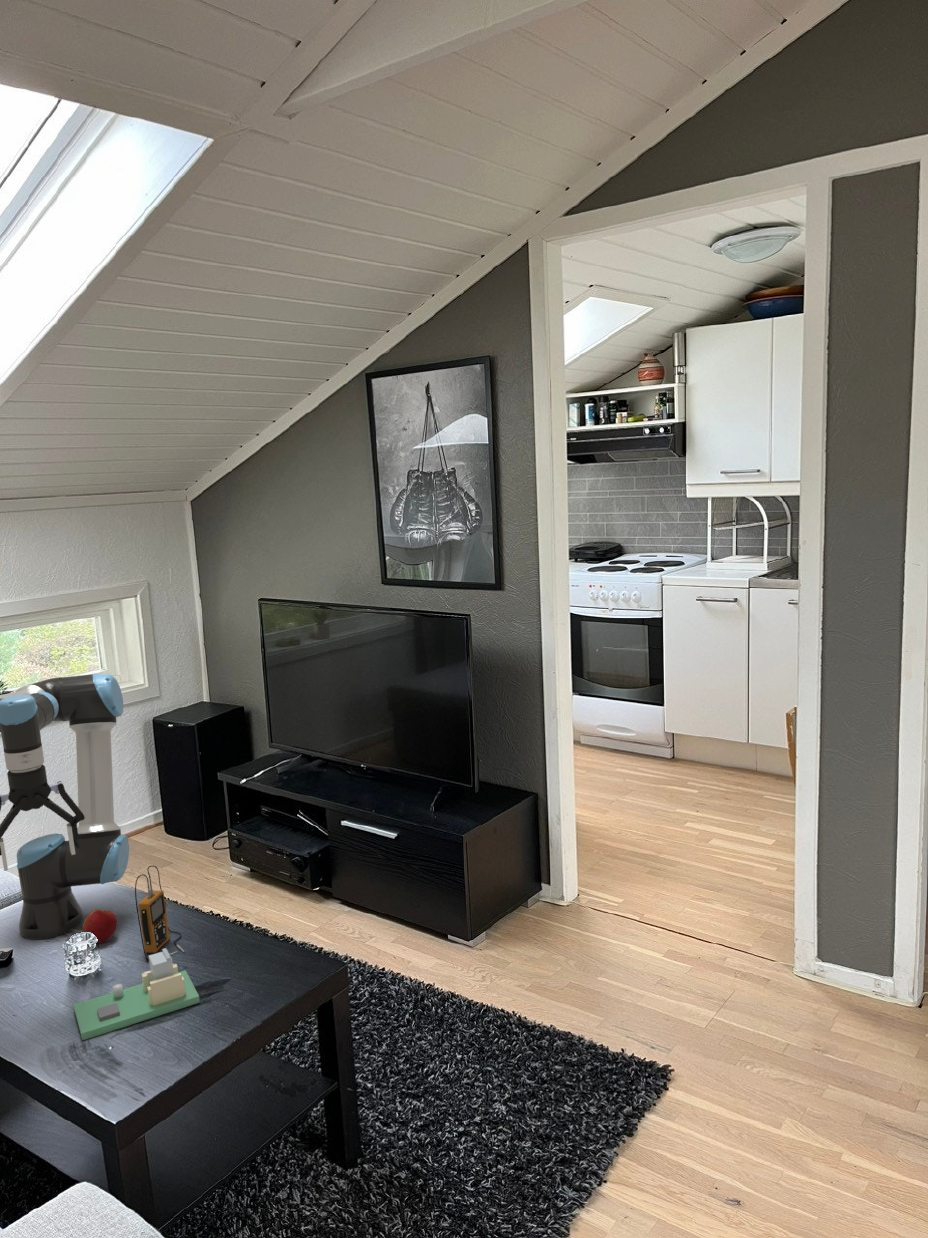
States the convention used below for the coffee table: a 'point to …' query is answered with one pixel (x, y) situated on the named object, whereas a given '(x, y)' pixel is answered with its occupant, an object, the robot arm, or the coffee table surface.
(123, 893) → the coffee table surface
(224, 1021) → the coffee table surface
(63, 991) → the coffee table surface
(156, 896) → the multimeter
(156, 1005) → the board
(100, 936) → the apple
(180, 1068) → the coffee table surface
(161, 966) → the plug
